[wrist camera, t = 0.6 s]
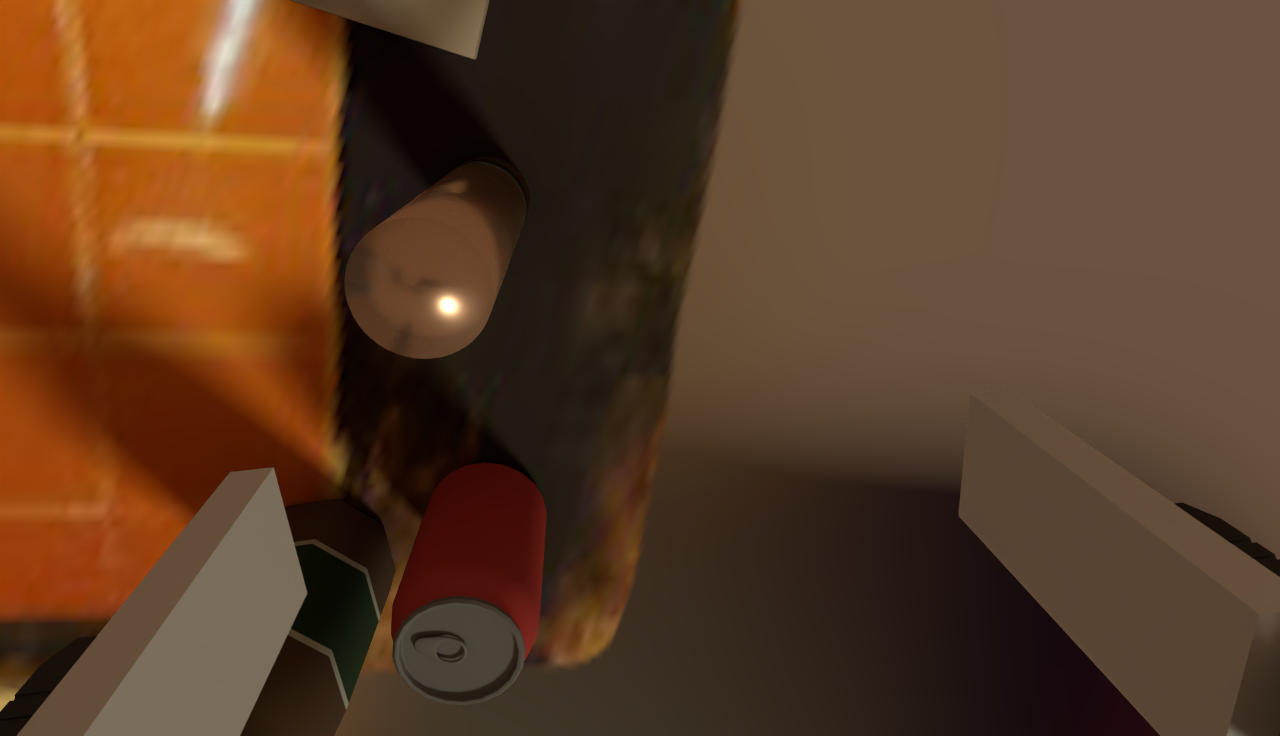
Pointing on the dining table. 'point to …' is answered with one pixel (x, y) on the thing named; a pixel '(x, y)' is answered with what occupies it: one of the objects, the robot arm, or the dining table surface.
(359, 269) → the copper tube
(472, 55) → the collar stand
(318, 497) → the dining table surface
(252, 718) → the beer bottle
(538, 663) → the dining table surface
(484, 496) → the beer can
